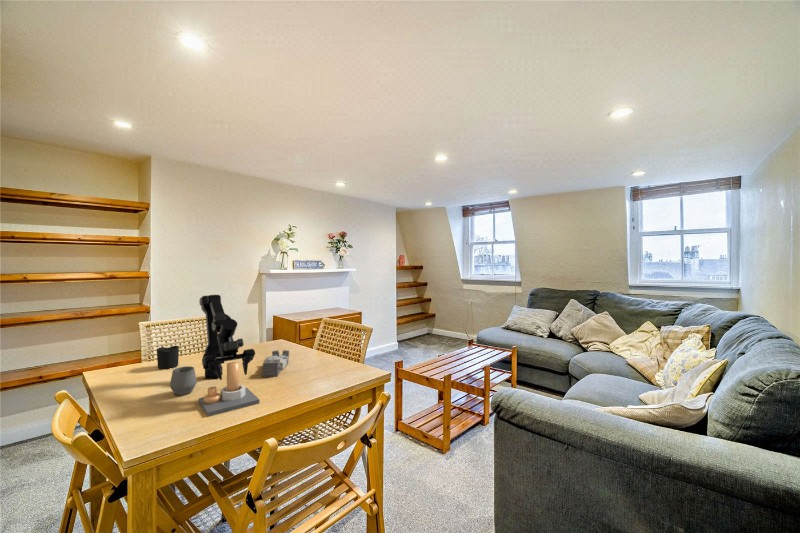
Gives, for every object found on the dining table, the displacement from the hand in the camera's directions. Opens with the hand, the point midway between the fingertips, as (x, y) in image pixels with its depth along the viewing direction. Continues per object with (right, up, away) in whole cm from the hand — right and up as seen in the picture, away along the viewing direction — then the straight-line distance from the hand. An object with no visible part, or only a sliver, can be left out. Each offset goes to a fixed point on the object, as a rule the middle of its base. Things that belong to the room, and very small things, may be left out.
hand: (233, 376), depth 136 cm
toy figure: (+1, -9, +43) cm, 44 cm away
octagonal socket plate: (-1, -10, -2) cm, 10 cm away
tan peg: (-1, -8, +1) cm, 8 cm away
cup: (-25, -9, +7) cm, 27 cm away
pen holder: (-54, -8, +40) cm, 68 cm away
